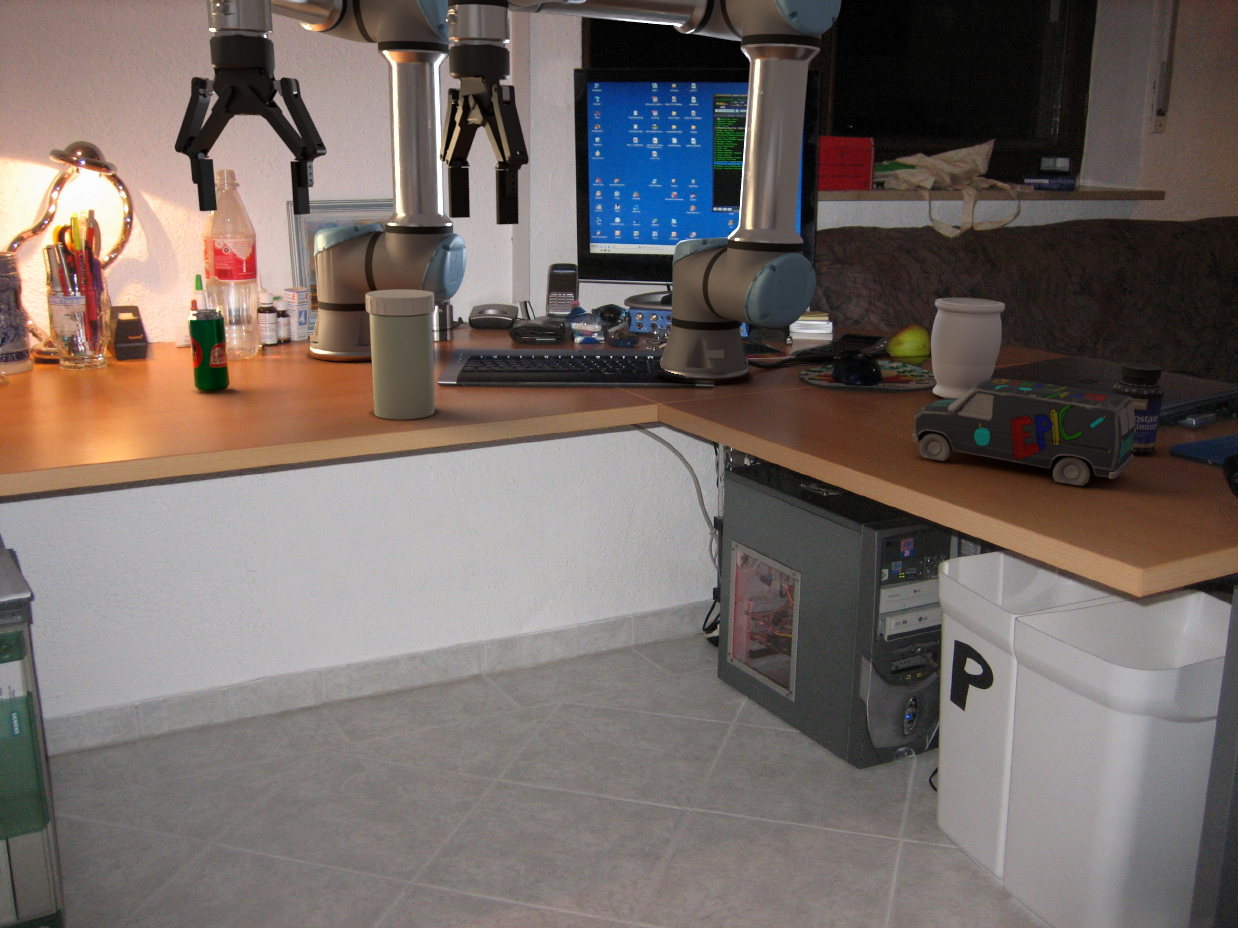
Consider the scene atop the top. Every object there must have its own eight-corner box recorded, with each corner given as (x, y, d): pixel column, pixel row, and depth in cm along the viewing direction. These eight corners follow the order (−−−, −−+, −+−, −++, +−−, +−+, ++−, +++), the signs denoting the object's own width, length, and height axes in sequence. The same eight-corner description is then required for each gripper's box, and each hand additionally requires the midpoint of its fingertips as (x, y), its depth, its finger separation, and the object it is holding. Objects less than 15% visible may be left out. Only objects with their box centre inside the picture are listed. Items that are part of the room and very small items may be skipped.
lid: (428, 316, 144) (428, 298, 144) (358, 315, 144) (358, 297, 144) (439, 306, 153) (439, 290, 153) (374, 305, 153) (373, 288, 153)
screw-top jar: (429, 420, 149) (425, 301, 144) (368, 419, 149) (362, 300, 144) (439, 406, 157) (435, 293, 152) (381, 405, 157) (376, 292, 152)
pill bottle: (1117, 454, 138) (1130, 370, 135) (1094, 442, 144) (1106, 361, 140) (1163, 454, 138) (1177, 370, 135) (1139, 442, 144) (1152, 361, 141)
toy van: (935, 438, 144) (942, 365, 141) (1133, 472, 130) (1146, 392, 127) (905, 455, 135) (913, 378, 133) (1114, 493, 122) (1127, 408, 119)
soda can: (218, 393, 162) (211, 314, 158) (188, 391, 163) (180, 312, 159) (236, 386, 166) (230, 309, 163) (207, 384, 167) (200, 308, 164)
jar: (912, 390, 173) (921, 298, 169) (962, 386, 177) (972, 295, 173) (956, 405, 163) (966, 307, 159) (1008, 400, 167) (1020, 304, 163)
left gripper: (134, 34, 131) (152, 210, 137) (317, 32, 126) (327, 217, 132) (172, 40, 138) (188, 208, 144) (347, 39, 133) (356, 214, 139)
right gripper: (410, 50, 140) (416, 215, 146) (499, 36, 121) (502, 228, 127) (462, 53, 144) (466, 214, 150) (556, 40, 125) (556, 226, 131)
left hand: (254, 213), depth 138 cm, fingers open, 13 cm apart
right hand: (482, 221), depth 138 cm, fingers open, 13 cm apart
